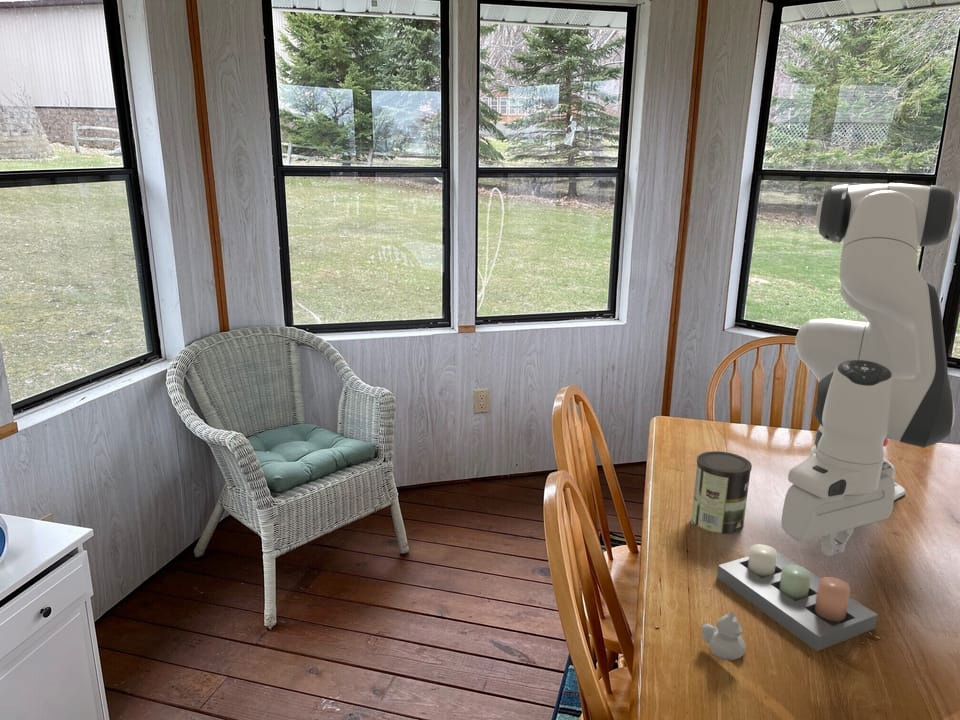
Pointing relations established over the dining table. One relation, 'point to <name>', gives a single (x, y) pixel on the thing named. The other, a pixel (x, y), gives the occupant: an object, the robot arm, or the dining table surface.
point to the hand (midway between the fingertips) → (832, 552)
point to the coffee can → (720, 492)
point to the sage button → (795, 581)
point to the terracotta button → (832, 598)
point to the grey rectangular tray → (795, 605)
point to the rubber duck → (725, 637)
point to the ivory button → (762, 560)
